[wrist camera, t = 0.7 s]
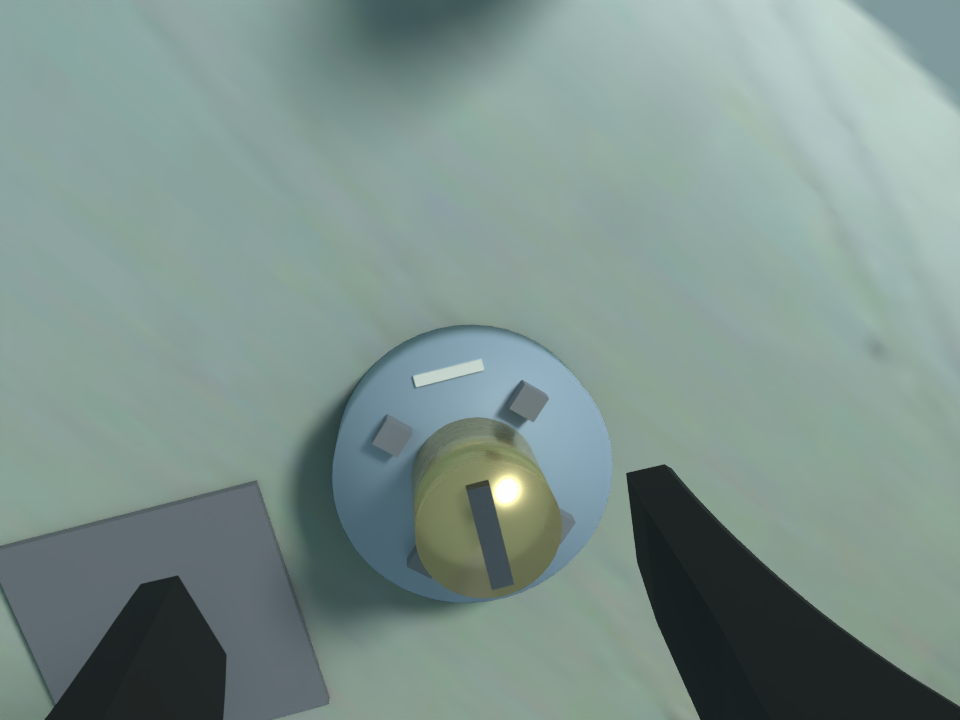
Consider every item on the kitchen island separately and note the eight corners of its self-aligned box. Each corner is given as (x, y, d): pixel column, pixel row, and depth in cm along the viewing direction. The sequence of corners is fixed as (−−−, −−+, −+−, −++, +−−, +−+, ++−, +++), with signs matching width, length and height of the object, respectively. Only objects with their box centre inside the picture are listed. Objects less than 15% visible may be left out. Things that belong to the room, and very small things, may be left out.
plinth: (615, 532, 32) (638, 571, 29) (375, 595, 31) (373, 642, 28) (568, 296, 29) (588, 312, 26) (304, 361, 29) (294, 386, 26)
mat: (329, 697, 32) (328, 704, 32) (89, 762, 32) (85, 769, 32) (256, 480, 30) (254, 484, 29) (-8, 547, 29) (-13, 553, 29)
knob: (548, 517, 29) (577, 583, 24) (428, 548, 28) (435, 621, 24) (523, 403, 27) (548, 451, 23) (397, 435, 27) (398, 490, 23)
